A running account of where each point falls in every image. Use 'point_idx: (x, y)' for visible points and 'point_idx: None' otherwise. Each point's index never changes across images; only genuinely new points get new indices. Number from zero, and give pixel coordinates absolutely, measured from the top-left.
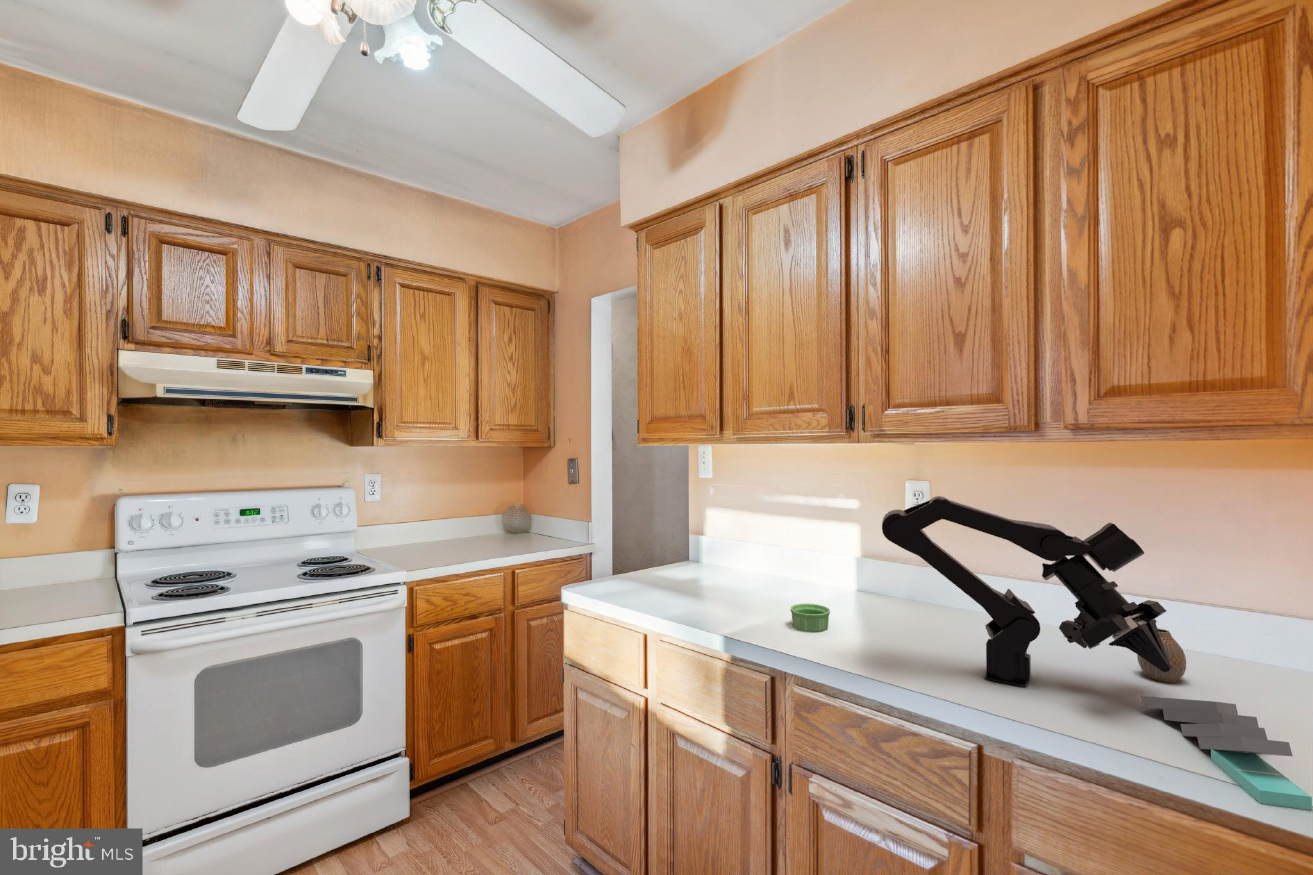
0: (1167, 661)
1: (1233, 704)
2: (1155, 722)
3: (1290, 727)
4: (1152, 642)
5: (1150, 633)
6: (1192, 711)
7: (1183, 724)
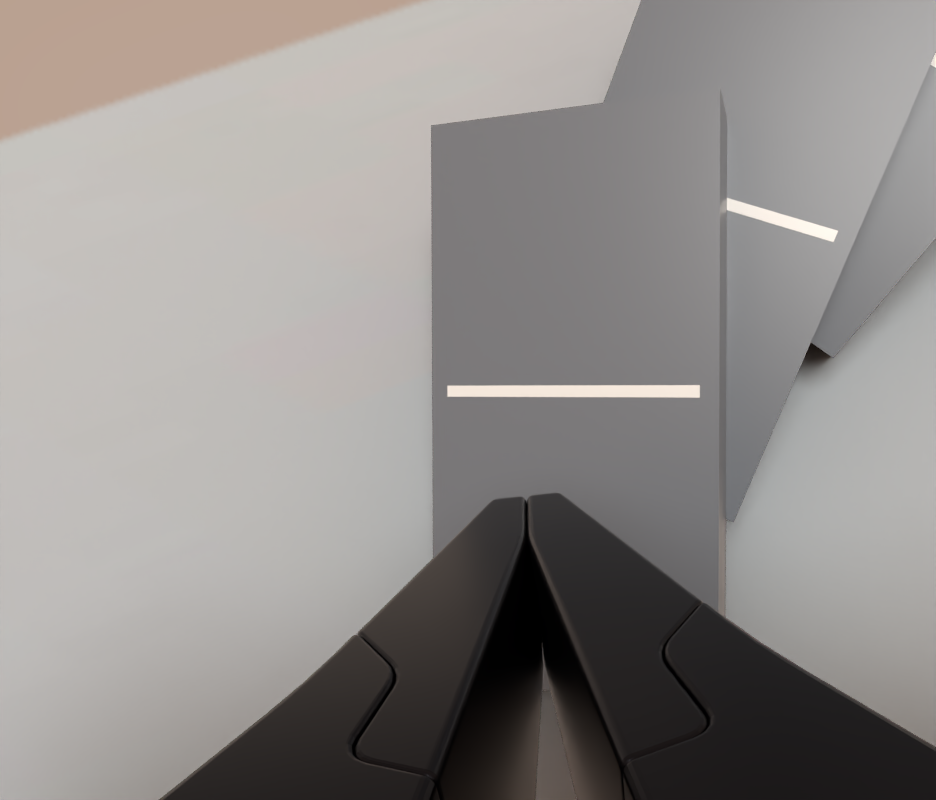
0: (521, 524)
1: (463, 123)
2: (773, 556)
3: (89, 153)
4: (781, 662)
5: (708, 797)
6: (854, 235)
7: (861, 322)
